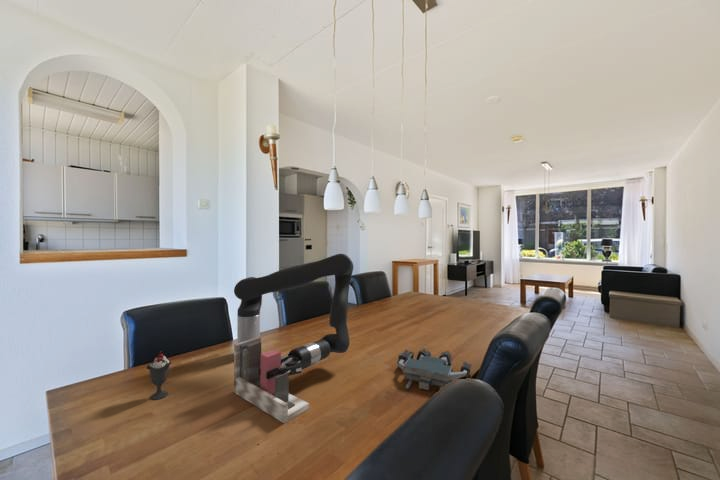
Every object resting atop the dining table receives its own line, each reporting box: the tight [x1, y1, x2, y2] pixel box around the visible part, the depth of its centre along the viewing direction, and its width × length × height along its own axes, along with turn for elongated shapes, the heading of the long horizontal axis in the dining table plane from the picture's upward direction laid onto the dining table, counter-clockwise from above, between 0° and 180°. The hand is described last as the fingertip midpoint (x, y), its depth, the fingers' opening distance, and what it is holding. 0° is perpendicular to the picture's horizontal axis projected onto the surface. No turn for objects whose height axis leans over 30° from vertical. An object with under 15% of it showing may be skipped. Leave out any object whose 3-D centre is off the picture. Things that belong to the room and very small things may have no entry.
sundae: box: [146, 350, 172, 401], centre depth 95 cm, size 7×7×15 cm
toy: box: [396, 348, 473, 391], centre depth 112 cm, size 27×9×30 cm
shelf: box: [233, 336, 310, 424], centre depth 94 cm, size 26×9×16 cm, turn 53°
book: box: [260, 349, 282, 394], centre depth 94 cm, size 4×5×12 cm
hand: (263, 373), depth 91 cm, fingers closed on book, 3 cm apart
